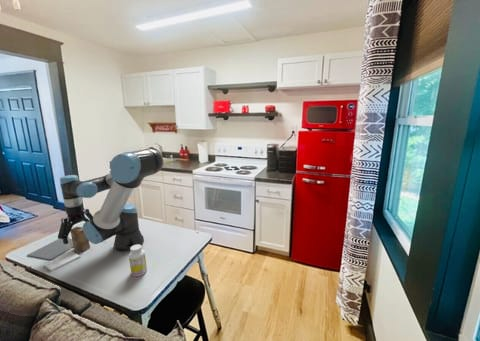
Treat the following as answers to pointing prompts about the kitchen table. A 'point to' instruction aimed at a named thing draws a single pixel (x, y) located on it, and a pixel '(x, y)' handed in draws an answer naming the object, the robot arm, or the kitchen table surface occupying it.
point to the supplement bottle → (137, 260)
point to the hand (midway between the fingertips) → (80, 241)
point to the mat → (51, 250)
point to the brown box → (79, 239)
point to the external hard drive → (61, 261)
